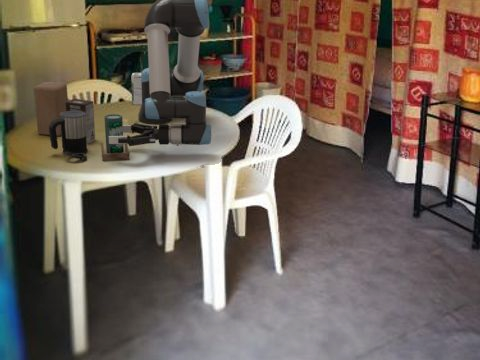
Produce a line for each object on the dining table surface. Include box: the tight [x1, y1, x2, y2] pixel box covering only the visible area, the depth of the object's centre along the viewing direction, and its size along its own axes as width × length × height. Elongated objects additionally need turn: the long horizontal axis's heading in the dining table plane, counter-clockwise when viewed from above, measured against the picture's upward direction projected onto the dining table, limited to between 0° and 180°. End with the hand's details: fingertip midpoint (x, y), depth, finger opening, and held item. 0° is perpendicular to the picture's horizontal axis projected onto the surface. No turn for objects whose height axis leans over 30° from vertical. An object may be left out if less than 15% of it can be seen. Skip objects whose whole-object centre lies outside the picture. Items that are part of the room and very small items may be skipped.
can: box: [104, 113, 125, 154], centre depth 226 cm, size 6×6×15 cm
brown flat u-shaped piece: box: [100, 142, 130, 162], centre depth 229 cm, size 10×14×2 cm
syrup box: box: [130, 72, 142, 106], centre depth 298 cm, size 6×6×14 cm
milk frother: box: [49, 111, 89, 161], centre depth 226 cm, size 14×16×15 cm
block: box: [33, 81, 69, 137], centre depth 250 cm, size 10×10×20 cm
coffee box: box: [66, 98, 96, 145], centre depth 241 cm, size 9×6×16 cm
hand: (111, 134), depth 225 cm, fingers open, 13 cm apart
